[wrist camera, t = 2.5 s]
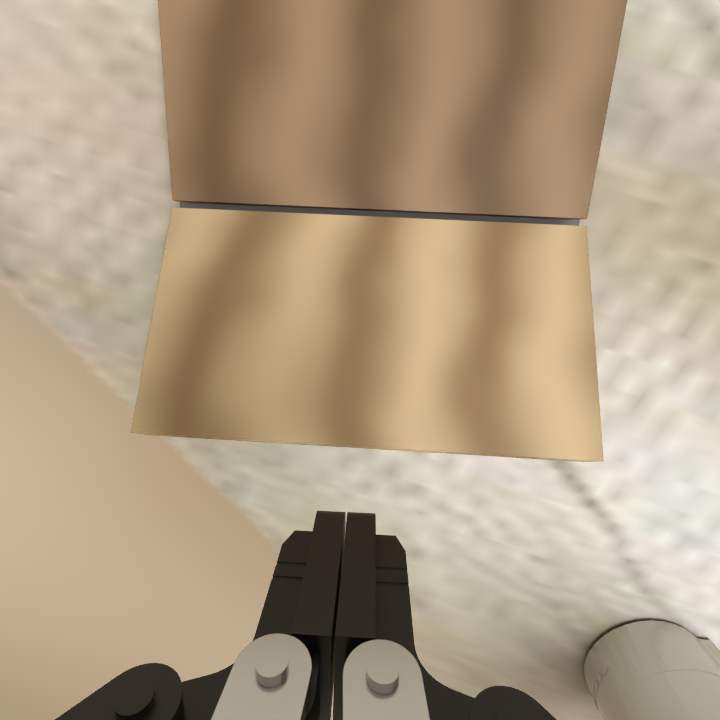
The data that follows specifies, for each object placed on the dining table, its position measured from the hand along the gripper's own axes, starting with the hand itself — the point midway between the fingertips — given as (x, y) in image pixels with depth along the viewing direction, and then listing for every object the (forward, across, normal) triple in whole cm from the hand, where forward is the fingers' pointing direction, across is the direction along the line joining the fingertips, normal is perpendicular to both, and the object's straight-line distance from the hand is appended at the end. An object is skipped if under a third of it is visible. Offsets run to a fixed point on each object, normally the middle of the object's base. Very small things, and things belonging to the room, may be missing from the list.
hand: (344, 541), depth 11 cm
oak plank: (+13, 0, -2) cm, 14 cm away
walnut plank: (+18, 0, -15) cm, 23 cm away
